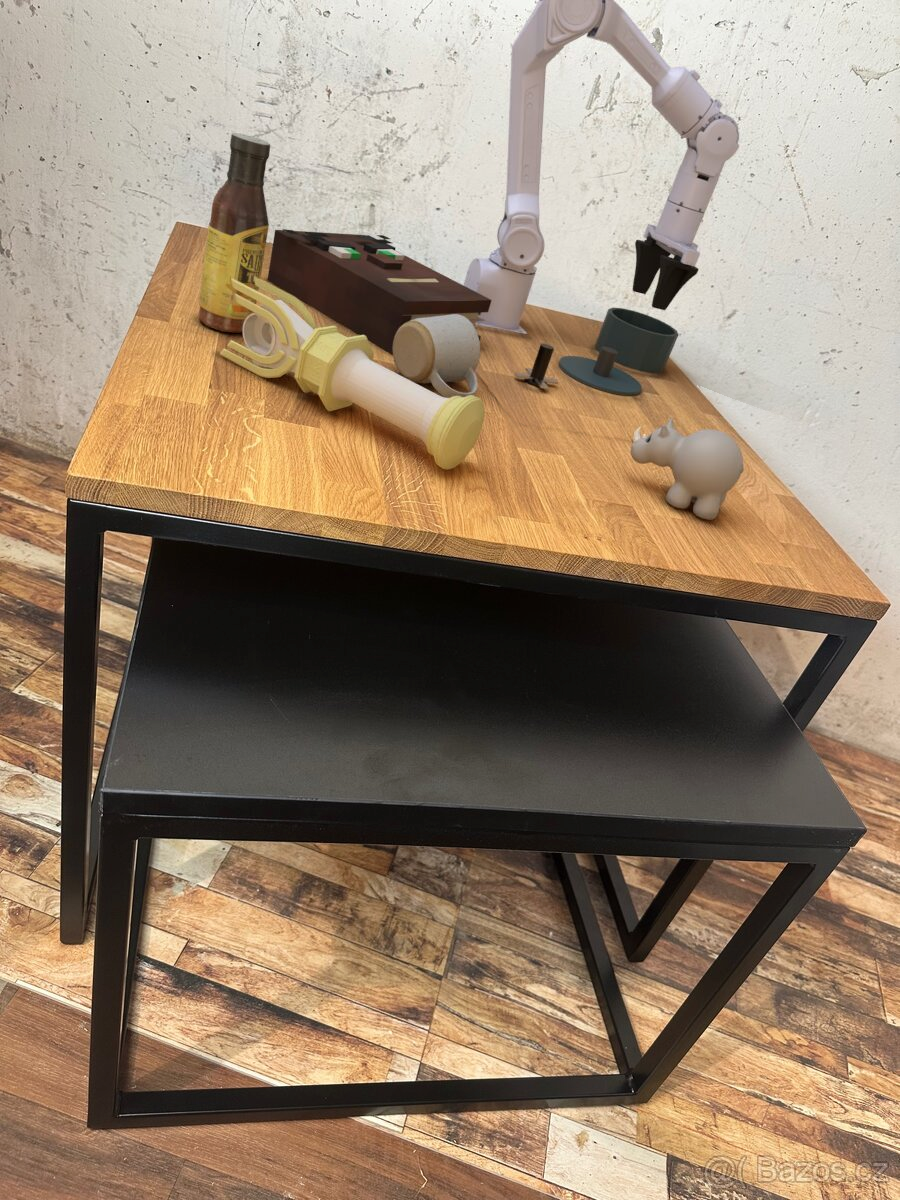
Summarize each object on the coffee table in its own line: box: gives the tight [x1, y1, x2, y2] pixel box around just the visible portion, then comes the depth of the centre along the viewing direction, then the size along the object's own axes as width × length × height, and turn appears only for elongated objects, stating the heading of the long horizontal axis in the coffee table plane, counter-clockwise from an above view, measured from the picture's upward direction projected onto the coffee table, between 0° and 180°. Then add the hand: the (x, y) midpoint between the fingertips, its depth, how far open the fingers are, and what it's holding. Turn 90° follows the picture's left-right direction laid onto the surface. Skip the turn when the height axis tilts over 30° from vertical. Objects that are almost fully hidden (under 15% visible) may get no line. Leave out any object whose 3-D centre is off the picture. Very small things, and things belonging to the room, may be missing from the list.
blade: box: [513, 343, 559, 390], centre depth 111 cm, size 6×6×6 cm
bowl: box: [594, 307, 679, 374], centre depth 134 cm, size 11×11×6 cm
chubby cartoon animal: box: [630, 418, 745, 521], centre depth 92 cm, size 7×12×8 cm, turn 62°
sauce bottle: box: [198, 132, 271, 334], centre depth 95 cm, size 7×6×20 cm
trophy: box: [219, 276, 486, 470], centre depth 87 cm, size 8×8×30 cm
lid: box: [558, 347, 643, 397], centre depth 122 cm, size 12×12×5 cm
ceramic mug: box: [392, 314, 481, 398], centre depth 101 cm, size 11×8×8 cm
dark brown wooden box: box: [266, 228, 492, 356], centre depth 118 cm, size 19×8×30 cm
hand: (648, 300), depth 131 cm, fingers open, 7 cm apart
